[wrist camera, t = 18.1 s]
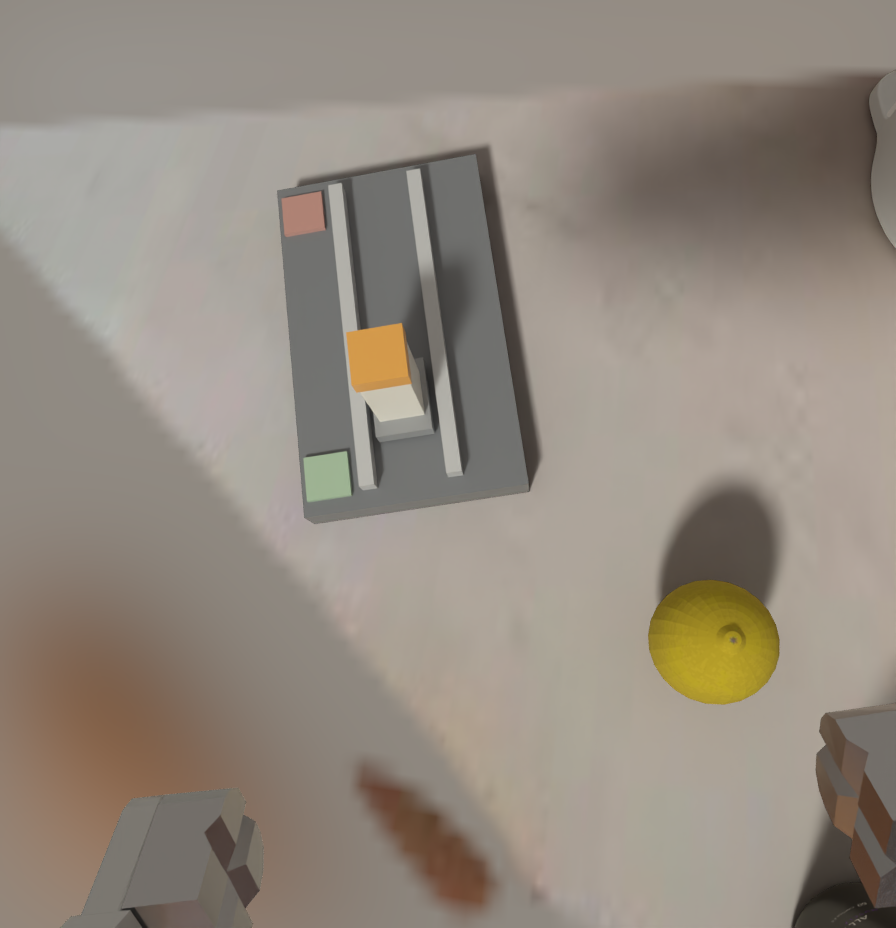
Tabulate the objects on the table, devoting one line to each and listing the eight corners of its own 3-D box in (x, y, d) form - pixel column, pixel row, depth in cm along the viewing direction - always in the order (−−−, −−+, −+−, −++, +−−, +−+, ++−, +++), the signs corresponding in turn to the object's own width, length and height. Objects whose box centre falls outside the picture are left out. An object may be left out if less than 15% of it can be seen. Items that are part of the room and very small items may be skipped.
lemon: (620, 665, 39) (641, 669, 31) (665, 568, 40) (697, 548, 32) (723, 720, 38) (772, 737, 30) (768, 618, 39) (826, 610, 31)
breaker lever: (434, 433, 40) (414, 390, 34) (379, 442, 41) (348, 400, 34) (425, 364, 42) (404, 308, 35) (371, 373, 42) (340, 319, 35)
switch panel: (529, 491, 41) (528, 479, 39) (314, 524, 42) (298, 514, 39) (478, 174, 46) (474, 143, 44) (287, 209, 47) (271, 180, 44)
